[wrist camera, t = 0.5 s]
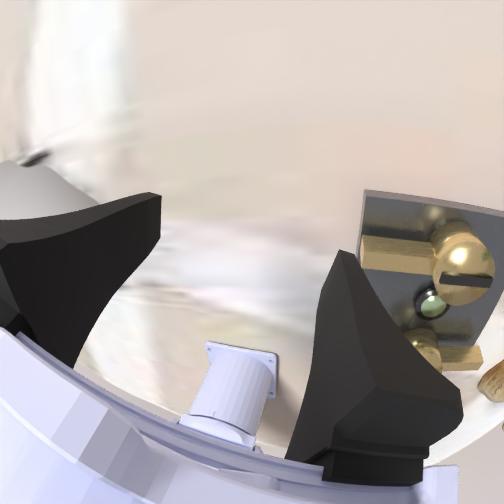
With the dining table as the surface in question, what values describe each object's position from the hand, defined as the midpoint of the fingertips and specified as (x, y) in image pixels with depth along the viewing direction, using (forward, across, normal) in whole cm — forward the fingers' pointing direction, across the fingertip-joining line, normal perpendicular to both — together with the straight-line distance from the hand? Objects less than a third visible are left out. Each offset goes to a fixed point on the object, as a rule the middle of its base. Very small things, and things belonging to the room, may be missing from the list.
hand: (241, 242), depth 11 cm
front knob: (+8, -11, +1) cm, 14 cm away
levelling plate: (+10, -14, +6) cm, 18 cm away
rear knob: (+8, -18, +10) cm, 22 cm away
